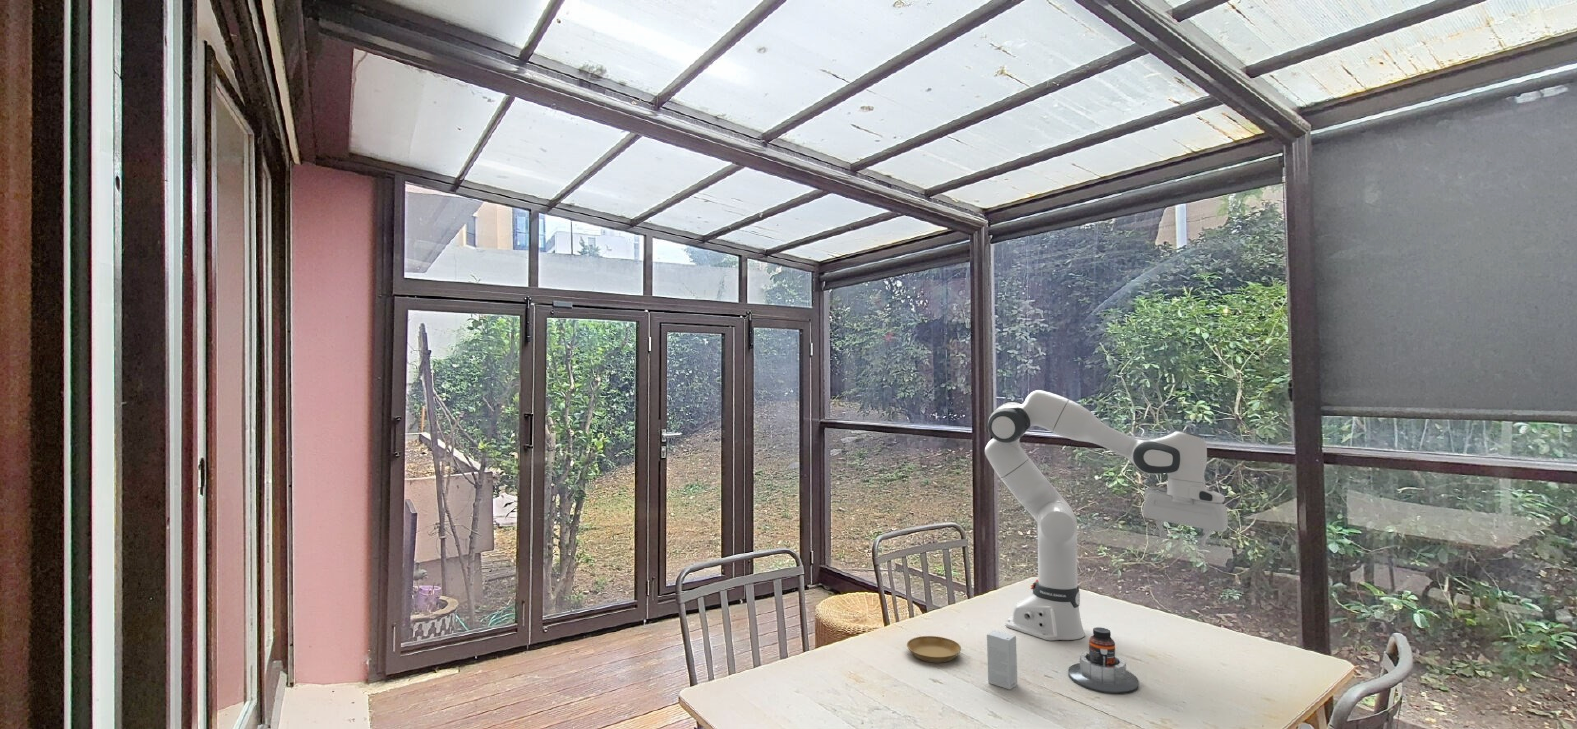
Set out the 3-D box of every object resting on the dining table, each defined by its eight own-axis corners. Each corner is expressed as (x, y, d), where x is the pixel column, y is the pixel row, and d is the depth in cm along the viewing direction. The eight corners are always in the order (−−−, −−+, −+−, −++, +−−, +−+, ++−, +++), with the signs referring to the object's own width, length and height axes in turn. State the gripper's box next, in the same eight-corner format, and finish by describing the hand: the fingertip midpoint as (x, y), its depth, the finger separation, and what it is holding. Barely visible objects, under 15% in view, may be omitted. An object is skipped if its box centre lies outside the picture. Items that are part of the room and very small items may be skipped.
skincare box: (1017, 684, 161) (1017, 635, 162) (1010, 690, 158) (1009, 640, 159) (994, 677, 165) (993, 629, 166) (987, 683, 162) (986, 634, 163)
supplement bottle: (1111, 682, 160) (1110, 636, 160) (1086, 675, 164) (1085, 630, 164) (1118, 675, 164) (1117, 629, 165) (1093, 668, 168) (1092, 624, 169)
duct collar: (1059, 680, 163) (1058, 660, 164) (1080, 661, 175) (1079, 642, 175) (1128, 700, 153) (1128, 679, 153) (1146, 678, 165) (1145, 658, 165)
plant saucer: (940, 671, 170) (939, 661, 170) (896, 654, 181) (895, 645, 181) (971, 656, 180) (971, 646, 180) (928, 641, 191) (928, 632, 191)
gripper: (1140, 484, 185) (1137, 533, 184) (1224, 497, 169) (1220, 551, 168) (1149, 484, 189) (1146, 532, 188) (1231, 497, 173) (1228, 549, 172)
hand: (1181, 541), depth 178 cm, fingers open, 8 cm apart
